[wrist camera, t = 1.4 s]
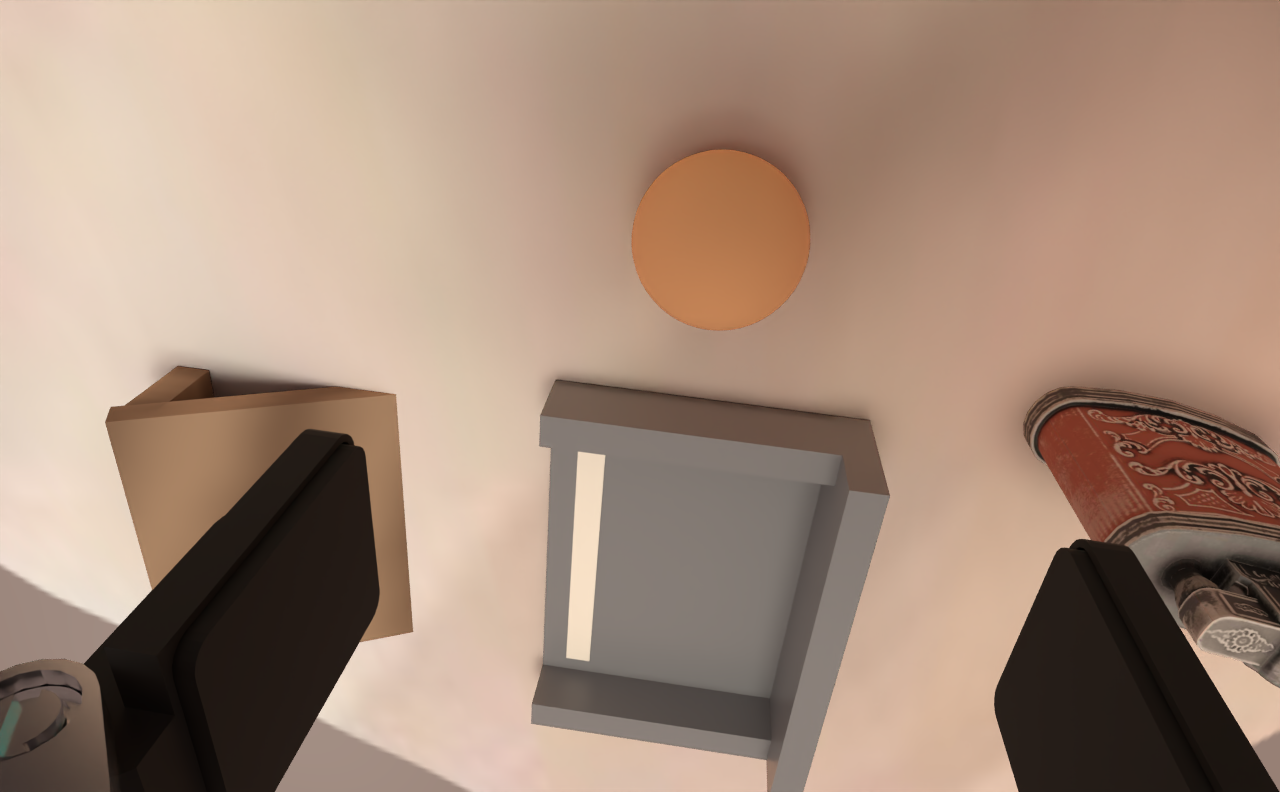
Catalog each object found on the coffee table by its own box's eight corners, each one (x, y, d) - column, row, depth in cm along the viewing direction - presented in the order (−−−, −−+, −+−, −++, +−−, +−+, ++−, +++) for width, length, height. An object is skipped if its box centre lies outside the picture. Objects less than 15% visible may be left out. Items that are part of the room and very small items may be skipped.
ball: (818, 142, 24) (835, 186, 19) (788, 300, 26) (797, 371, 22) (649, 124, 24) (628, 163, 20) (635, 281, 26) (614, 347, 22)
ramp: (405, 382, 30) (348, 455, 26) (420, 617, 36) (376, 708, 32) (183, 353, 31) (92, 420, 27) (234, 589, 37) (166, 675, 33)
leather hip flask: (1005, 452, 28) (1121, 680, 19) (1051, 369, 26) (1203, 577, 18) (1228, 511, 28) (1444, 764, 19) (1288, 431, 26) (1555, 668, 18)
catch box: (870, 420, 28) (889, 495, 24) (792, 714, 35) (798, 807, 32) (555, 379, 29) (526, 446, 25) (544, 676, 36) (520, 763, 32)
